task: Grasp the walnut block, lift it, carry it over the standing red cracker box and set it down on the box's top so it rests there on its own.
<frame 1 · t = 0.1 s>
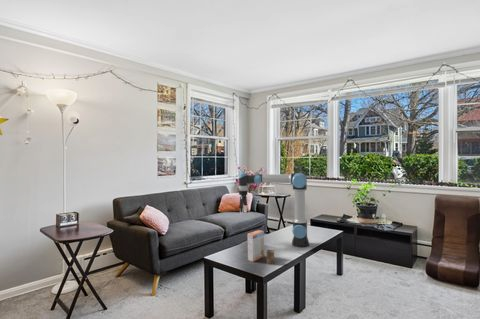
hand: (243, 214, 261), 28 cm above the table, fingers open, 13 cm apart
walnut block: (270, 262, 218), on the table
cracker box: (256, 259, 227), on the table
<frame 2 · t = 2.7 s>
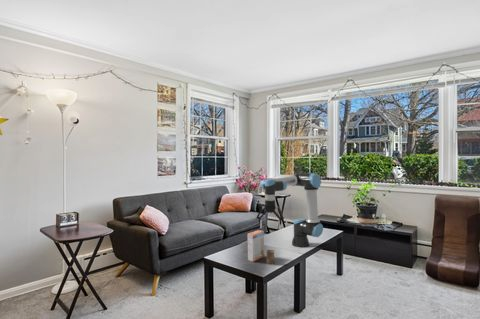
hand: (270, 228, 218), 26 cm above the table, fingers open, 13 cm apart
nothing on the table moved.
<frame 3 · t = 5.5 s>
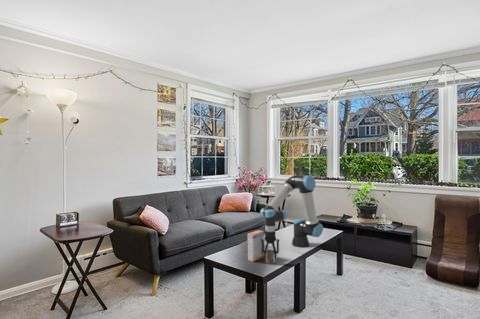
hand: (270, 261, 218), 1 cm above the table, fingers closed on walnut block, 5 cm apart
walnut block: (270, 262, 218), on the table, touching gripper
everything else where it was.
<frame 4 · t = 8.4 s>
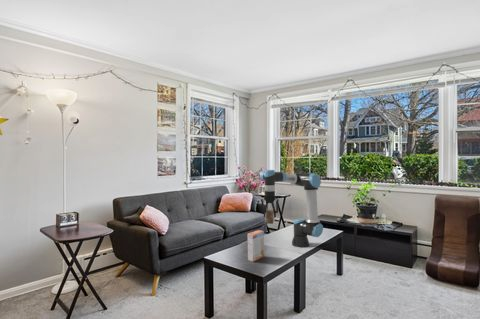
hand: (269, 221, 218), 31 cm above the table, fingers closed on walnut block, 5 cm apart
walnut block: (269, 222, 218), point 30 cm above the table, touching gripper
everything else where it was.
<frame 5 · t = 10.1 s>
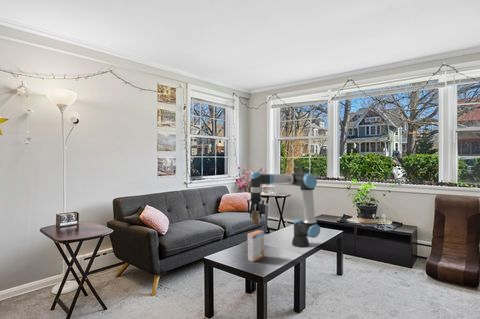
hand: (255, 222, 227), 29 cm above the table, fingers closed on walnut block, 5 cm apart
walnut block: (255, 223, 227), point 28 cm above the table, touching gripper
everything else where it was.
when the fingers open (23 cm above the table, at t = 11.4 s): walnut block drops 2 cm, resting on cracker box.
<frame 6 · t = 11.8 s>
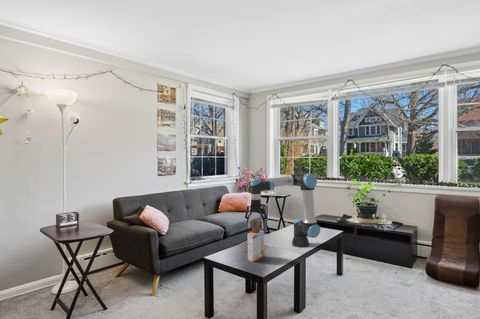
hand: (255, 227, 227), 24 cm above the table, fingers open, 10 cm apart
walnut block: (255, 232, 227), point 21 cm above the table, touching cracker box
cracker box: (256, 259, 227), on the table, touching walnut block
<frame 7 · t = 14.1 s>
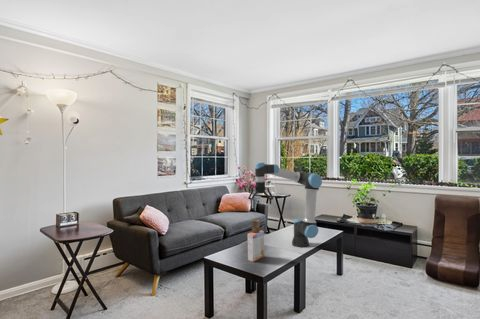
hand: (261, 208, 235), 38 cm above the table, fingers open, 13 cm apart
nothing on the table moved.
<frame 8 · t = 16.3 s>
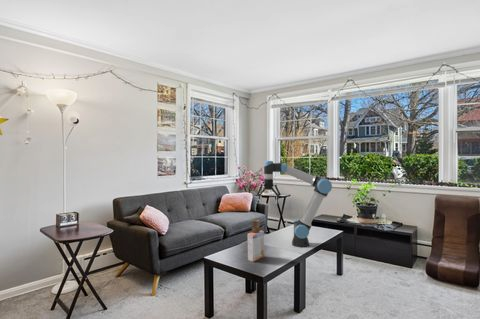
hand: (268, 203, 252), 39 cm above the table, fingers open, 13 cm apart
nothing on the table moved.
at the end: walnut block 0.1 cm from the cracker box (horizontally); walnut block point 20.9 cm above the table; walnut block tilted 0° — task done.
